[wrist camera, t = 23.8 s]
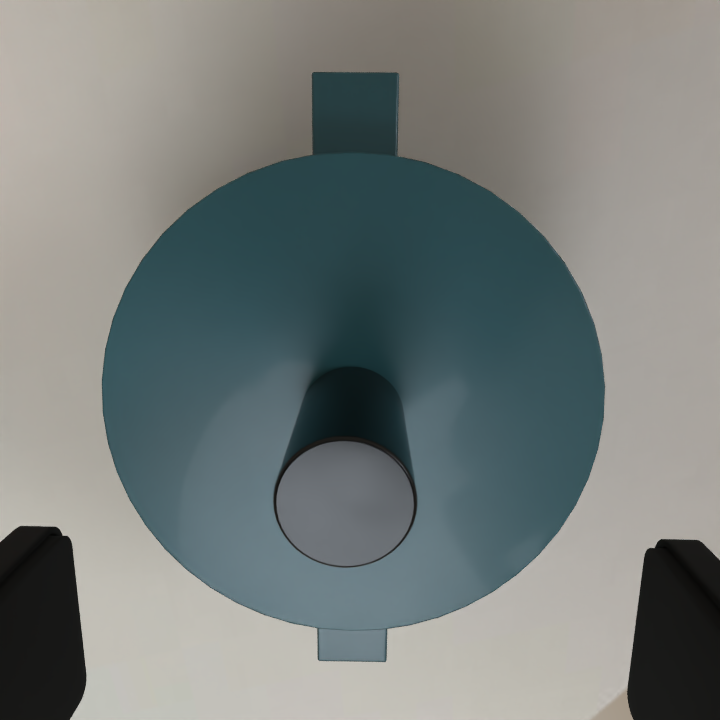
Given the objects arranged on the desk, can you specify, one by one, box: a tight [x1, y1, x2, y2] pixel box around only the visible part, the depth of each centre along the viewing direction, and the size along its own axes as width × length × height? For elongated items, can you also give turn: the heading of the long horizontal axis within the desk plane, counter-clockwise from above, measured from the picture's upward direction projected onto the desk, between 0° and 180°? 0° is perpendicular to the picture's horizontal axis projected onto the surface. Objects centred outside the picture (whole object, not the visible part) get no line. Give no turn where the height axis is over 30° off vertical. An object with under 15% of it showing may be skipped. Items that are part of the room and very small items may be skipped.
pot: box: [312, 72, 399, 662], centre depth 23 cm, size 14×19×10 cm
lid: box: [102, 152, 605, 631], centre depth 16 cm, size 15×15×7 cm
